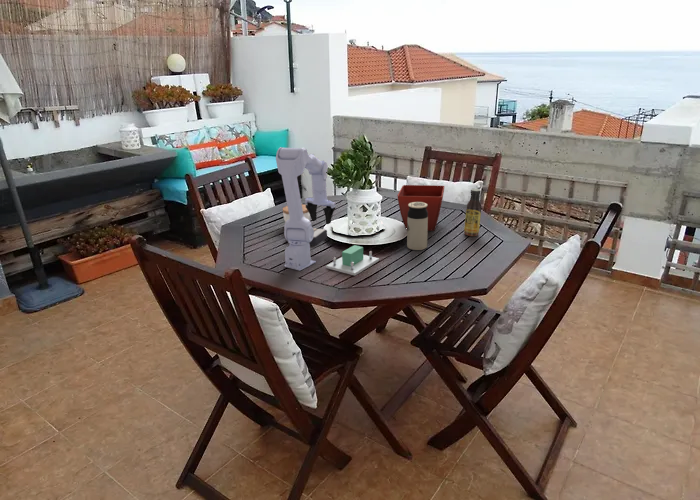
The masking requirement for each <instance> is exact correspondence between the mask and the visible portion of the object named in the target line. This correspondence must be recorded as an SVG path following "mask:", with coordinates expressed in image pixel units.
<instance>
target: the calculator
mask: <svg viewBox="0 0 700 500" xmlns="http://www.w3.org/2000/svg"><path fill="white" fill-rule="evenodd" d="M313 230H314V236H313V239H312V241H311V242H309V243H310V246H318V245H319V244H320V243H322V242H323V241H324V240H326V239H327V238H328V231H327V229H324V228H323V229H322V228H316V227H315V228H313ZM284 240H285V242H286V243H288V241H287V240H286V238H285V237H284Z"/></svg>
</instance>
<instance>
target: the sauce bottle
mask: <svg viewBox="0 0 700 500" xmlns="http://www.w3.org/2000/svg"><path fill="white" fill-rule="evenodd" d="M481 192H482V190H481V189H480V188H471V189H470V197H469V198H470V199H469V201H468V202H467V204H466V210H465V219H464V227H463V234H464V235H465V236H467V237H477V236H478V235H479V232H480V226H481V219H482V218H481V217H482V203H481V202H480V201H481V200H480V197H481Z"/></svg>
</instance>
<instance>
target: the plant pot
mask: <svg viewBox="0 0 700 500" xmlns="http://www.w3.org/2000/svg"><path fill="white" fill-rule="evenodd" d="M444 192H445V185H437V184H436V185H430V184H427V185H425V184H423V185H422V184H420V185H419V184H418V185H417V184H404V185H403V184H402V186H401V188H400V190H399V191H398V194H397V204H398V208H399V211H400V216H401V220H402V223H403V226H404V229H406V228H407V219H408V211H409V206H408V204H409V203H412V202H424V203H426V204H427V208H426V210H427V212H428V228H427V232H428V231H429V232H434V231H435V230H436V227H437V224H438V220H439V216H440V211H441V207H442V204H443V200H444V199H443V198H444Z"/></svg>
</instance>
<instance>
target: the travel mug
mask: <svg viewBox="0 0 700 500" xmlns="http://www.w3.org/2000/svg"><path fill="white" fill-rule="evenodd" d="M408 206H409V211H408V219H407V233H406V234H407V235H406V237H407V240H406V241H407V242H406V244H407V245H406V246H407V247H406V248H408V249H409V250H412V251H423V250H425V249H427V248H428V231H427V228H428V212H427V210H426V208H427V204H426V203H424V202H412V203H409V204H408Z"/></svg>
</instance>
